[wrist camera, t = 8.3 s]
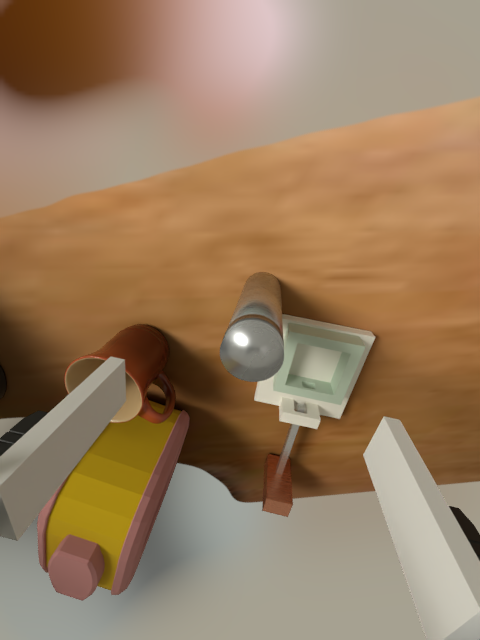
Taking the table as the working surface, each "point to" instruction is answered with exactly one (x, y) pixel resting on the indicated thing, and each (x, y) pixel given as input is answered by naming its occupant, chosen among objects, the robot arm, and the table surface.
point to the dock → (315, 370)
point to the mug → (131, 371)
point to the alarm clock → (109, 505)
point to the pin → (280, 476)
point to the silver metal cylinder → (255, 331)
